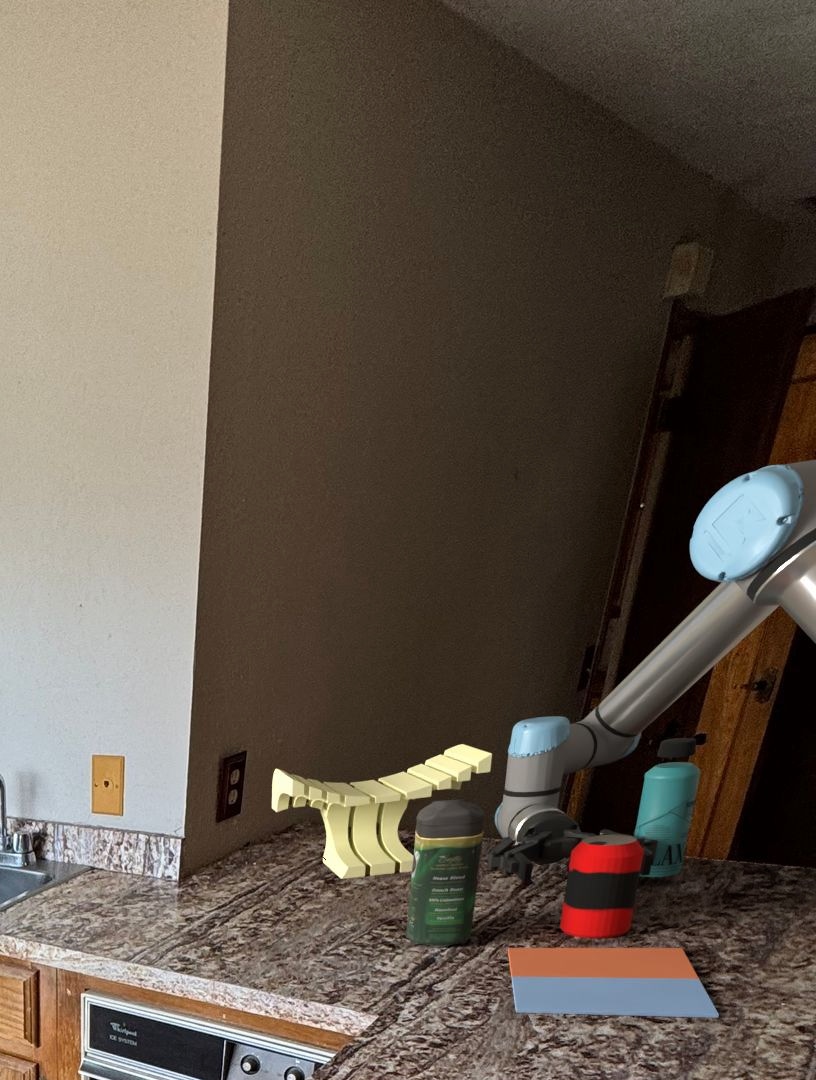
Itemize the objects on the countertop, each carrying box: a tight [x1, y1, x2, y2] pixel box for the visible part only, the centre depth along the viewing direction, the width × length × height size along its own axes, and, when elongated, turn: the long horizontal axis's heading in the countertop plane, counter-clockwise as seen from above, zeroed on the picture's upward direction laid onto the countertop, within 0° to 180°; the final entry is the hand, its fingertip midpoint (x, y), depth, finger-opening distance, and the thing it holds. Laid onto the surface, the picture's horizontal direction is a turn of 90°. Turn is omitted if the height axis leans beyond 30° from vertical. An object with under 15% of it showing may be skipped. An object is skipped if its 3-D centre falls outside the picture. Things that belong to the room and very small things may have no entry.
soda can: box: [559, 834, 644, 939], centre depth 129 cm, size 8×8×12 cm
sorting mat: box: [507, 947, 720, 1019], centre depth 117 cm, size 18×22×1 cm
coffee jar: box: [406, 799, 485, 948], centre depth 135 cm, size 10×8×19 cm
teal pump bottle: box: [633, 737, 702, 878], centre depth 141 cm, size 6×7×20 cm
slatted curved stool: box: [271, 743, 493, 880], centre depth 172 cm, size 30×16×18 cm, turn 81°
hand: (587, 869), depth 134 cm, fingers open, 13 cm apart
